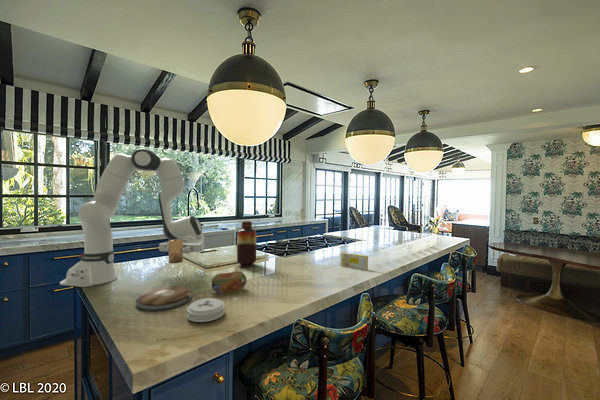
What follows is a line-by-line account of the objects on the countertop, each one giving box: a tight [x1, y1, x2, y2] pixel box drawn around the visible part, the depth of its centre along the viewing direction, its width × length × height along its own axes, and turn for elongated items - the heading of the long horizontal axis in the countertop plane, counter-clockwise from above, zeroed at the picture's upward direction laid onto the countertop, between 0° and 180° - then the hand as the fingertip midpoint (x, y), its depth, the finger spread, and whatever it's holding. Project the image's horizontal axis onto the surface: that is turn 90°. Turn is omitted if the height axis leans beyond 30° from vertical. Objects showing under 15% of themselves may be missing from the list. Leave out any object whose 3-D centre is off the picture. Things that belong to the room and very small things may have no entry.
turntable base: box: [135, 289, 193, 312], centre depth 111 cm, size 20×20×2 cm
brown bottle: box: [236, 220, 257, 269], centre depth 163 cm, size 11×11×26 cm
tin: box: [210, 270, 247, 295], centre depth 122 cm, size 15×3×8 cm, turn 117°
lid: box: [186, 297, 226, 323], centre depth 98 cm, size 13×13×5 cm
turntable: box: [138, 284, 192, 306], centre depth 111 cm, size 20×18×2 cm
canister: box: [168, 238, 184, 264], centre depth 127 cm, size 6×6×10 cm
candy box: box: [340, 252, 369, 272], centre depth 160 cm, size 16×2×8 cm, turn 58°
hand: (175, 250), depth 127 cm, fingers closed on canister, 6 cm apart
